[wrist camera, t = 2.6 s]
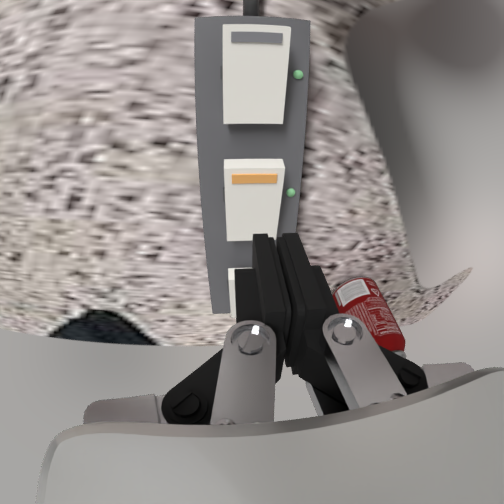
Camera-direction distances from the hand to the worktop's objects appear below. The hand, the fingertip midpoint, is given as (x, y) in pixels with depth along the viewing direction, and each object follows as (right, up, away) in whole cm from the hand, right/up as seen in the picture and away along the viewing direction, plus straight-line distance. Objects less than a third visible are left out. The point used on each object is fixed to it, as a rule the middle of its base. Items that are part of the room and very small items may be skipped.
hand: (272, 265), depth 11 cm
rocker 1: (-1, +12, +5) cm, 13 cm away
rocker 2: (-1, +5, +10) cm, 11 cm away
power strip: (-1, +10, +13) cm, 16 cm away
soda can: (+13, -5, +25) cm, 28 cm away
